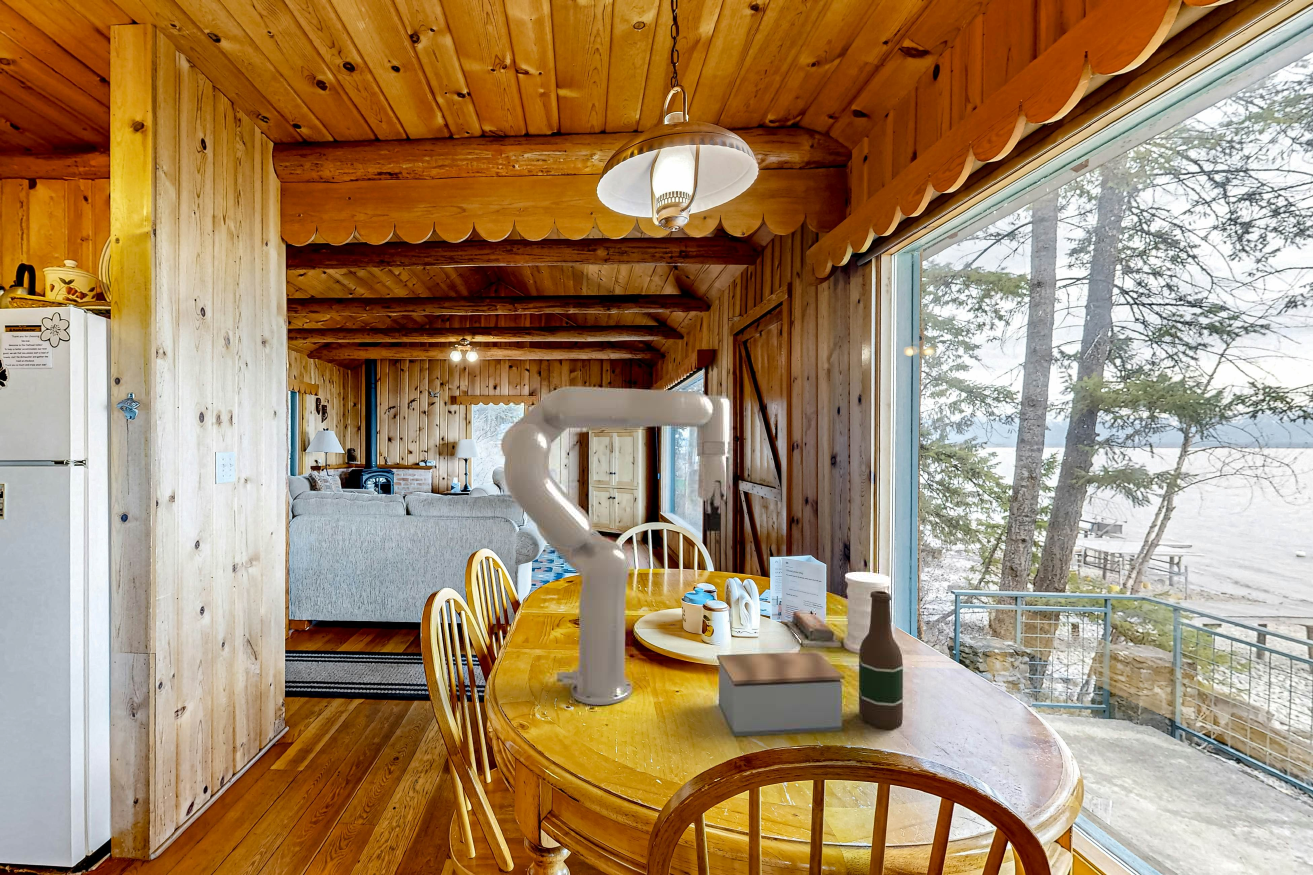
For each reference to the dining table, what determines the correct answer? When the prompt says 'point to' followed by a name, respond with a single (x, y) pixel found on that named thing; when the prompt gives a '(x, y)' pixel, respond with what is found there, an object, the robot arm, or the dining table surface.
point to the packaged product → (812, 630)
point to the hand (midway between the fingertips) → (712, 530)
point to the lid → (778, 667)
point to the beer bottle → (880, 669)
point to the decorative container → (861, 605)
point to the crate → (780, 706)
